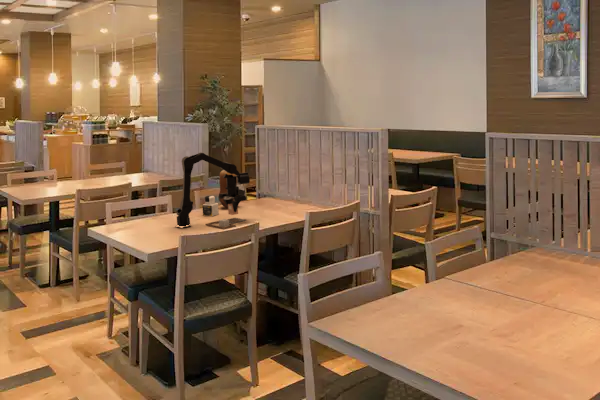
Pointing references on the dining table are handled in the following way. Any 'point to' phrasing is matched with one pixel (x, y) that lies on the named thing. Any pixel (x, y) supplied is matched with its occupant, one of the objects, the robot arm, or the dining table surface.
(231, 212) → the terracotta block
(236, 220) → the slate pad
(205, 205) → the medicine bottle
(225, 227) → the caddy
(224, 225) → the grey block
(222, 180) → the butternut squash
